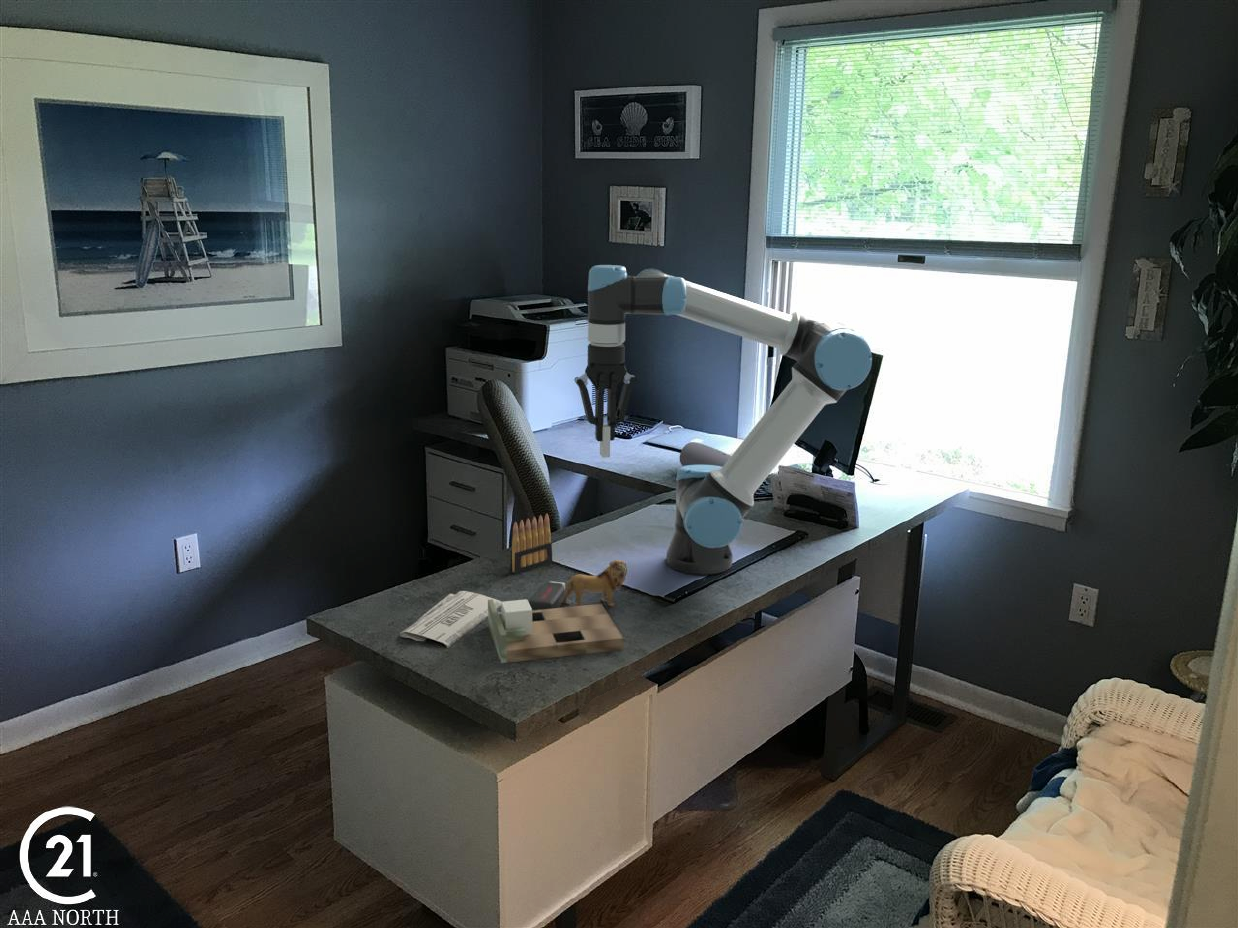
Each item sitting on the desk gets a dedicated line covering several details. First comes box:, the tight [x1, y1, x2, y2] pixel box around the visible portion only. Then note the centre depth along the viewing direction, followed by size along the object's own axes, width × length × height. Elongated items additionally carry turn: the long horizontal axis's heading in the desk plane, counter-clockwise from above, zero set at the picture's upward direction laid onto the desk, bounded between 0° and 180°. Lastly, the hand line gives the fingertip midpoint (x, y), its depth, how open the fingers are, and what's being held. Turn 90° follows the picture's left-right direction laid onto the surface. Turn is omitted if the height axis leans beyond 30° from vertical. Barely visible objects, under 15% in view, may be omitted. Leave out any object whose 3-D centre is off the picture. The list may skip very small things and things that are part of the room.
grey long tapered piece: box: [678, 441, 732, 467], centre depth 292 cm, size 23×9×10 cm, turn 30°
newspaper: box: [399, 590, 502, 648], centre depth 201 cm, size 23×12×2 cm, turn 158°
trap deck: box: [487, 598, 624, 664], centre depth 194 cm, size 23×16×6 cm
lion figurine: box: [558, 559, 628, 607], centre depth 209 cm, size 15×5×9 cm, turn 112°
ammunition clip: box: [509, 513, 553, 575], centre depth 227 cm, size 11×2×12 cm, turn 133°
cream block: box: [500, 599, 532, 635], centre depth 191 cm, size 5×5×5 cm
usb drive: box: [528, 580, 566, 611], centre depth 211 cm, size 5×12×3 cm, turn 166°
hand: (604, 455), depth 211 cm, fingers closed
